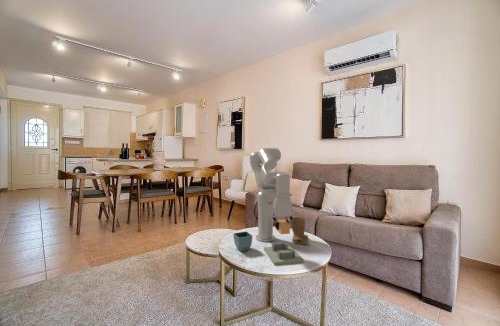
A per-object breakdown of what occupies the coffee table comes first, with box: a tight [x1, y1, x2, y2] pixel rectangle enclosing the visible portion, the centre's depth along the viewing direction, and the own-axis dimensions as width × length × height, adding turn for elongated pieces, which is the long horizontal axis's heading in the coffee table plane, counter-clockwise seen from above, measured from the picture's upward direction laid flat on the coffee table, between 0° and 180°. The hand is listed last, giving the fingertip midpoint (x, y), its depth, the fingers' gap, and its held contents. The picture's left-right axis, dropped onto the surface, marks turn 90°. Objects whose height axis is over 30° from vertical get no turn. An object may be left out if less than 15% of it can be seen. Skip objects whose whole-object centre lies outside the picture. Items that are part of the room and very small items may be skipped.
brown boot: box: [289, 216, 309, 245], centre depth 161 cm, size 15×12×15 cm
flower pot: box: [233, 231, 253, 252], centre depth 147 cm, size 9×9×9 cm
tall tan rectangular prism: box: [274, 218, 291, 235], centre depth 137 cm, size 10×5×5 cm, turn 12°
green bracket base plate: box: [263, 242, 305, 266], centre depth 138 cm, size 20×16×4 cm
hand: (282, 228), depth 138 cm, fingers closed on tall tan rectangular prism, 5 cm apart
